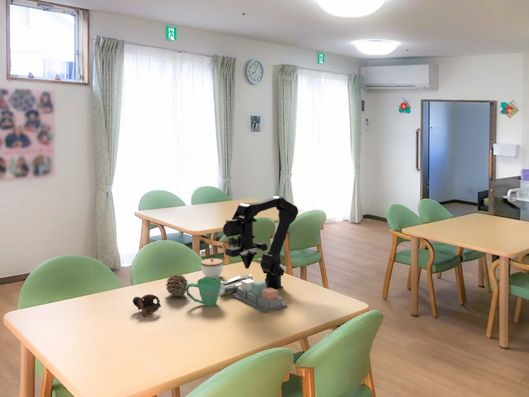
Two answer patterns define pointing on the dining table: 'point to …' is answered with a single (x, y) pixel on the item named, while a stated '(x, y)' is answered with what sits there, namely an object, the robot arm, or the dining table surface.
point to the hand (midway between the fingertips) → (247, 268)
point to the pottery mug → (147, 304)
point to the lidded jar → (212, 267)
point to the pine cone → (176, 285)
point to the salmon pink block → (269, 293)
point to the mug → (206, 290)
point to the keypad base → (259, 301)
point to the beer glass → (233, 284)
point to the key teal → (257, 287)
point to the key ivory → (247, 284)
